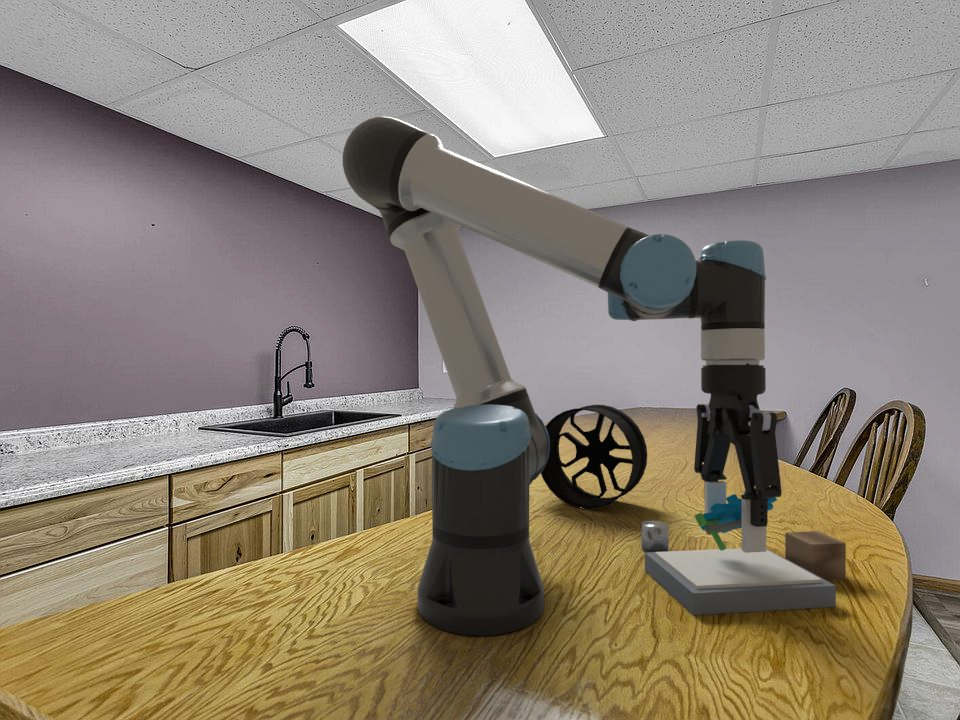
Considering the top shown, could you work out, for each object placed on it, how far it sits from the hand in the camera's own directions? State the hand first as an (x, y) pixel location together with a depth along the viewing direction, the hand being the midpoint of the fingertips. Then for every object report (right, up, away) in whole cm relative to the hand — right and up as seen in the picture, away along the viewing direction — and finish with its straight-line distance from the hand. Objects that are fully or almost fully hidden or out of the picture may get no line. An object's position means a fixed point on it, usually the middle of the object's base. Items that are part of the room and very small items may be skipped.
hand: (733, 539), depth 68 cm
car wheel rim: (-10, -6, +40) cm, 42 cm away
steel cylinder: (-6, -6, +13) cm, 16 cm away
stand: (0, -6, 0) cm, 6 cm away
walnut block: (+13, -6, +5) cm, 16 cm away
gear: (0, 0, 0) cm, 0 cm away
